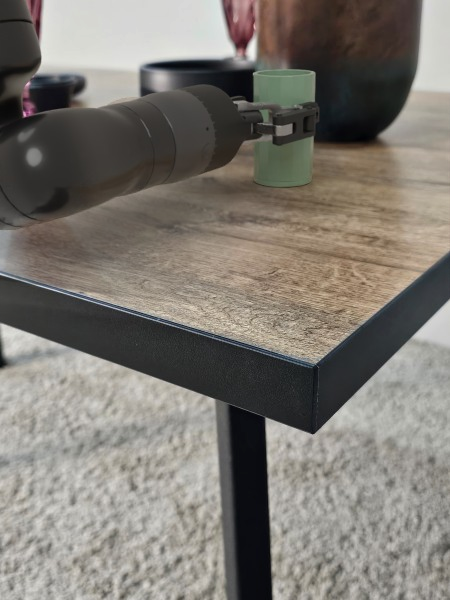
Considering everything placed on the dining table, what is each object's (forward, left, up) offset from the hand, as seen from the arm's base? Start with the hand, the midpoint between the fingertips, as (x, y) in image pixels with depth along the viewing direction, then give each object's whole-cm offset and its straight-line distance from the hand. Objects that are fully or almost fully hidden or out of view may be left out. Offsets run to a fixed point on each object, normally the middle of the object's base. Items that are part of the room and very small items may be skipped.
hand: (277, 109), depth 75 cm
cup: (0, +1, -7) cm, 8 cm away
